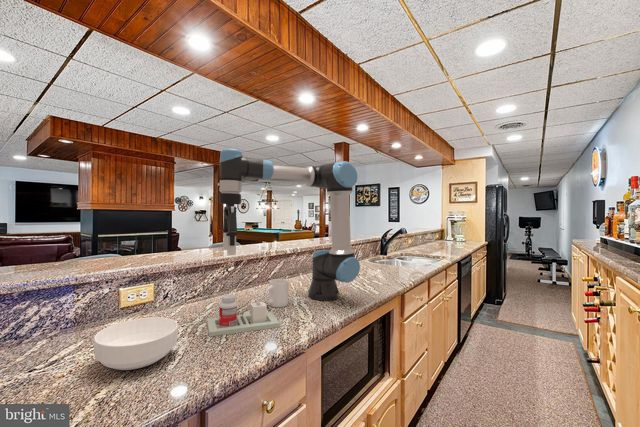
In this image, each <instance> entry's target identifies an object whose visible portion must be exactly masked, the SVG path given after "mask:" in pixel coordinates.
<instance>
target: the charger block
mask: <svg viewBox="0 0 640 427" xmlns="http://www.w3.org/2000/svg"><path fill="white" fill-rule="evenodd" d="M267 307H268V306H267V303H265V302H264V301H259V302H251V303H250V305H249V314H250V320H249V322H250V323H249V324H255V323H263V322H267V312H268V311H267V310H268V309H267Z"/></svg>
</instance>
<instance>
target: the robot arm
mask: <svg viewBox="0 0 640 427" xmlns="http://www.w3.org/2000/svg"><path fill="white" fill-rule="evenodd" d="M219 156H220V157H219V182H218V183H217V186H218V187H219V190H218V191H219V192H220V193H219V194H218V197H219V198H218V203H219V204H220V205H225V206H223V225H222V231H223V232H222V233H223V237H222V241H223V242H222V251H226V255H227V256H228V257H229V256H236V255H237V235H238V223H237V222H238V221H237V220H238V219H237V209H238V207H237V206H235V205H241V203H242V195H241V193H242V183H245V182H252V183H253V182H254V183H255V182H259V183H277V184H278V183H279V184H296V185H304V186H306V187H311V188H320V189H325V190H326V193H327V194H328V195H329V196H330V224H331V230H330V231H331V249H320V250H314V251H313V253H312V266H311V267H312V268H311V269H312V270H311V272H312V275H311V277H312V278H311V284H310V286H309V289H308V293H307V296H308V297H309V298H310V299H311V300H315V301H324V302H325V301H333V300H337V299H339V297H340V292H339V288H338V284H337V281H338V282H340V283H345V284H346V283H351V282H353V281H355V280H356V278H357V277H358V275H359V273H360V269H361V264H360V261H359V260H358V259H357V258H356V257H355V250H354V249H352V246H351V244H352V243H351V242H352V241H351V240H352V239H351V209H350V208H351V206H350V195H351V194H352V193H353V187H354V186H355V185H356V183H357V182H358V171H357V169H356V167H355V166H354V165H353V164H352V163H351V162H349V161H347V160H345V161H344V160H341V161H336V162H335V161H334V162H331V163H326V164H320V165H314V166H311V165H308V166H306V167H298V166H290V165H289V166H288V165H275V164H273V162H272V161H271V160H268V159H264V158H253V157H245V156H243V152H242V150H240V149H238V148H224V149H222V150H220V155H219Z"/></svg>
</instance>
